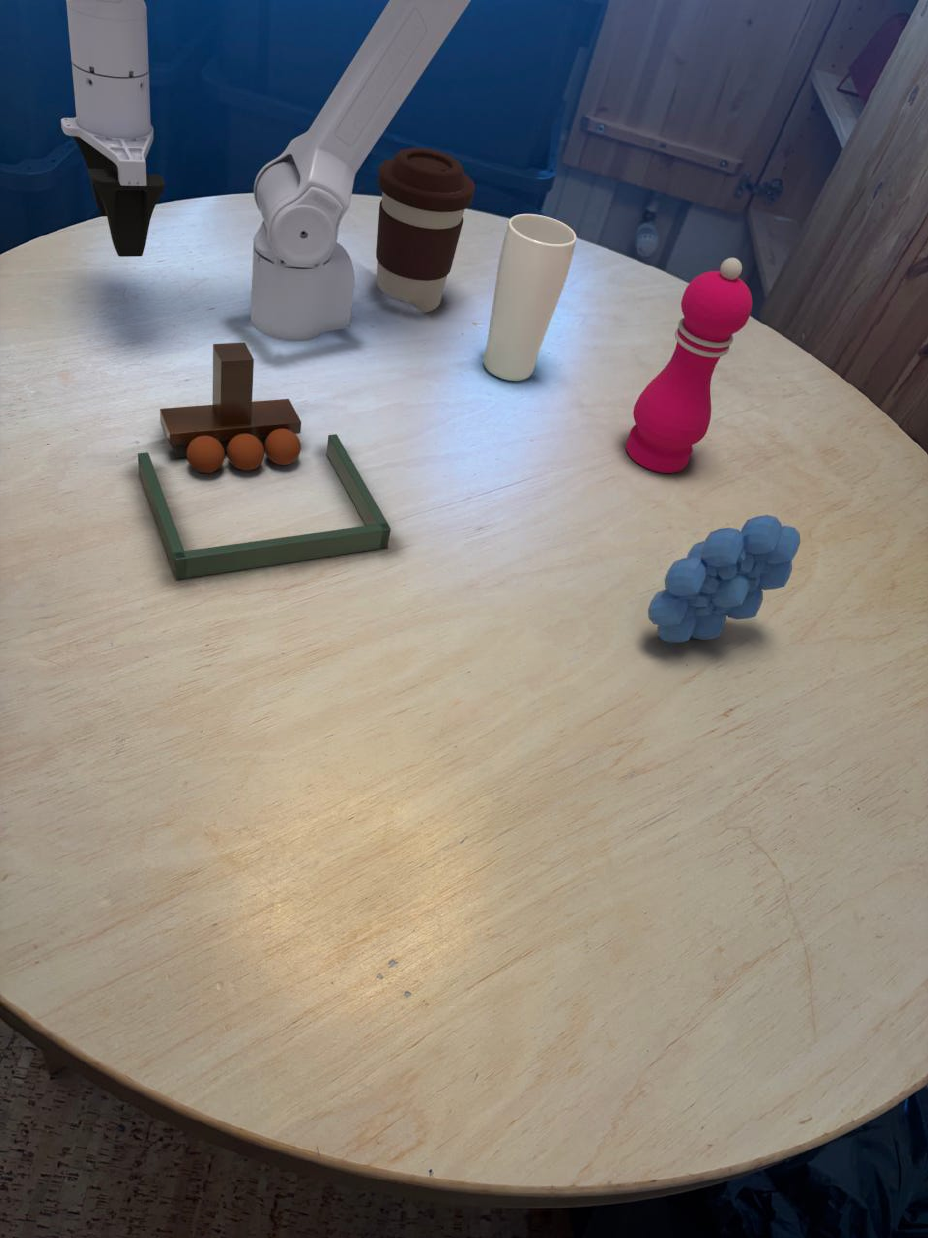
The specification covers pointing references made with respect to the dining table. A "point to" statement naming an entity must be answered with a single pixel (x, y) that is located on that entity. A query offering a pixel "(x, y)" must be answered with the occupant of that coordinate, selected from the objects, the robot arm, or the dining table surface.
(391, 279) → the coffee cup
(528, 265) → the drinking glass
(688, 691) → the dining table surface
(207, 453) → the ball
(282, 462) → the ball
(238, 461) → the ball middle
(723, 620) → the grapes
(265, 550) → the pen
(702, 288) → the pepper mill
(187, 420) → the brush
